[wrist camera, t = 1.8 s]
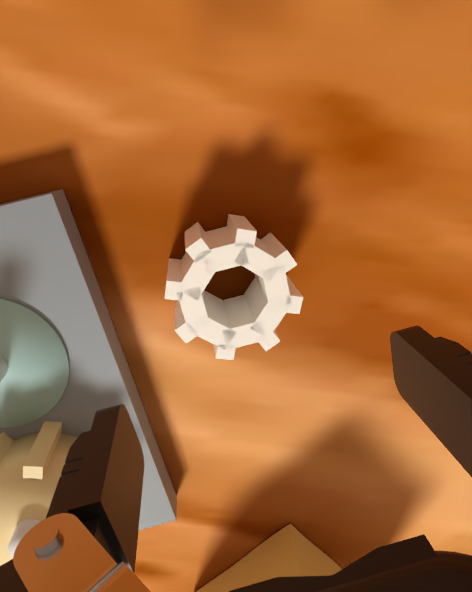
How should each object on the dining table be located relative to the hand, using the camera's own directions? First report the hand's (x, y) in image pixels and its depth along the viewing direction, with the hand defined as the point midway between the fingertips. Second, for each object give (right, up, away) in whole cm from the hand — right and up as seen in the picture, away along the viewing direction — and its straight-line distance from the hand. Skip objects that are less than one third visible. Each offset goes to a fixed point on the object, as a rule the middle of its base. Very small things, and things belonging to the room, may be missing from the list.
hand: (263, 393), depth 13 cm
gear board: (-13, -3, +13) cm, 18 cm away
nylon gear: (-1, +4, +12) cm, 12 cm away
